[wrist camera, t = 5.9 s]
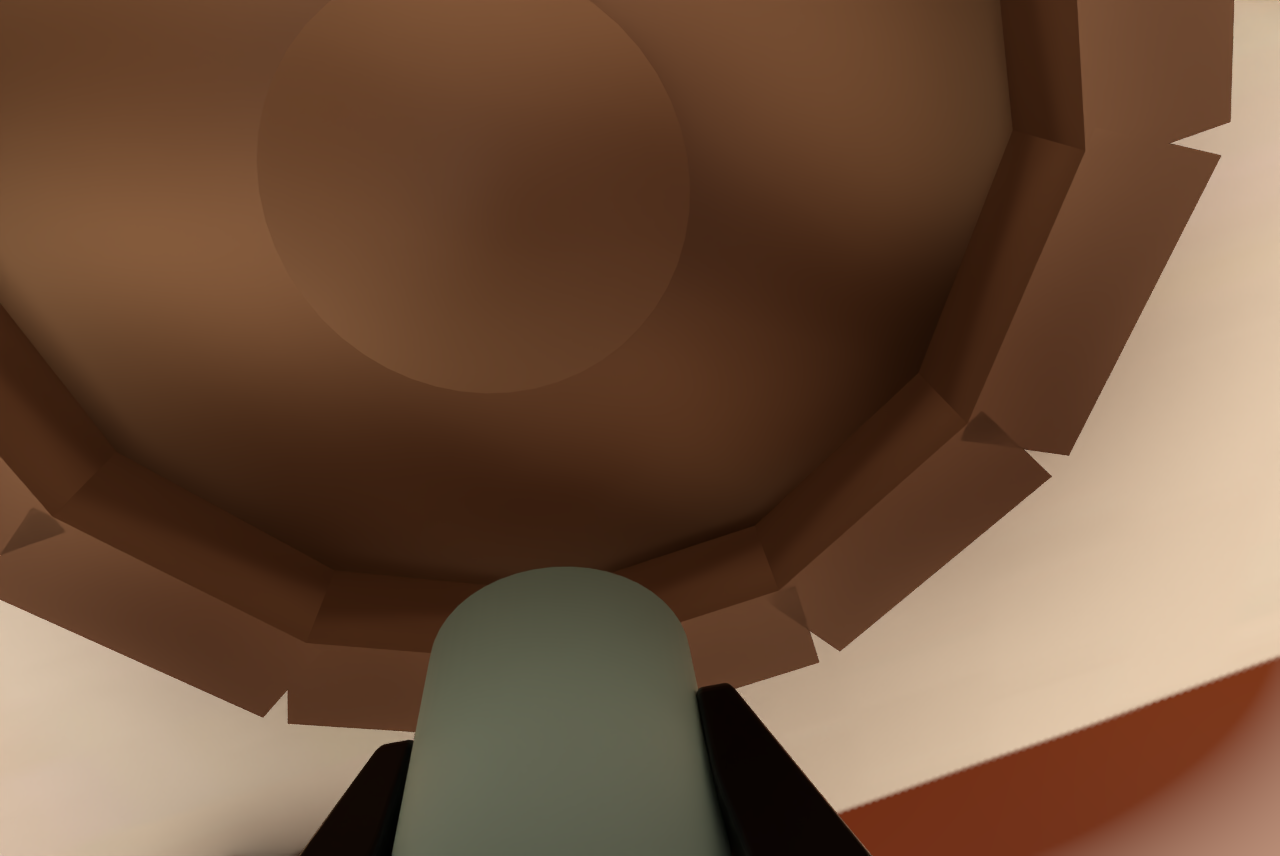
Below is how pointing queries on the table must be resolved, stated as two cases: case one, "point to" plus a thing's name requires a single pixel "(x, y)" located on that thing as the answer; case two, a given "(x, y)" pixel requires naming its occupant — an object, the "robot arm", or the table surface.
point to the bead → (560, 727)
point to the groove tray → (556, 308)
